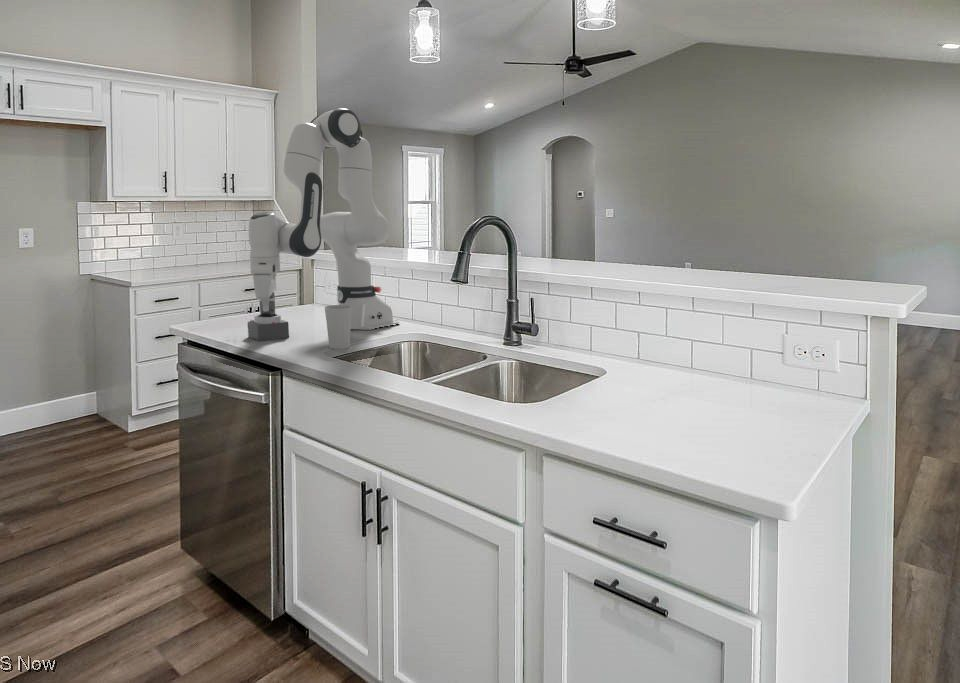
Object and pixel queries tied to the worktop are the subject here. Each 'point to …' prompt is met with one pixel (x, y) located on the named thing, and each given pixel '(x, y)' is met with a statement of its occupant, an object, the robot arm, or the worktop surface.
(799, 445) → the worktop surface
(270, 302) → the lens
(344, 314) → the cup
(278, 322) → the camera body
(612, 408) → the worktop surface
